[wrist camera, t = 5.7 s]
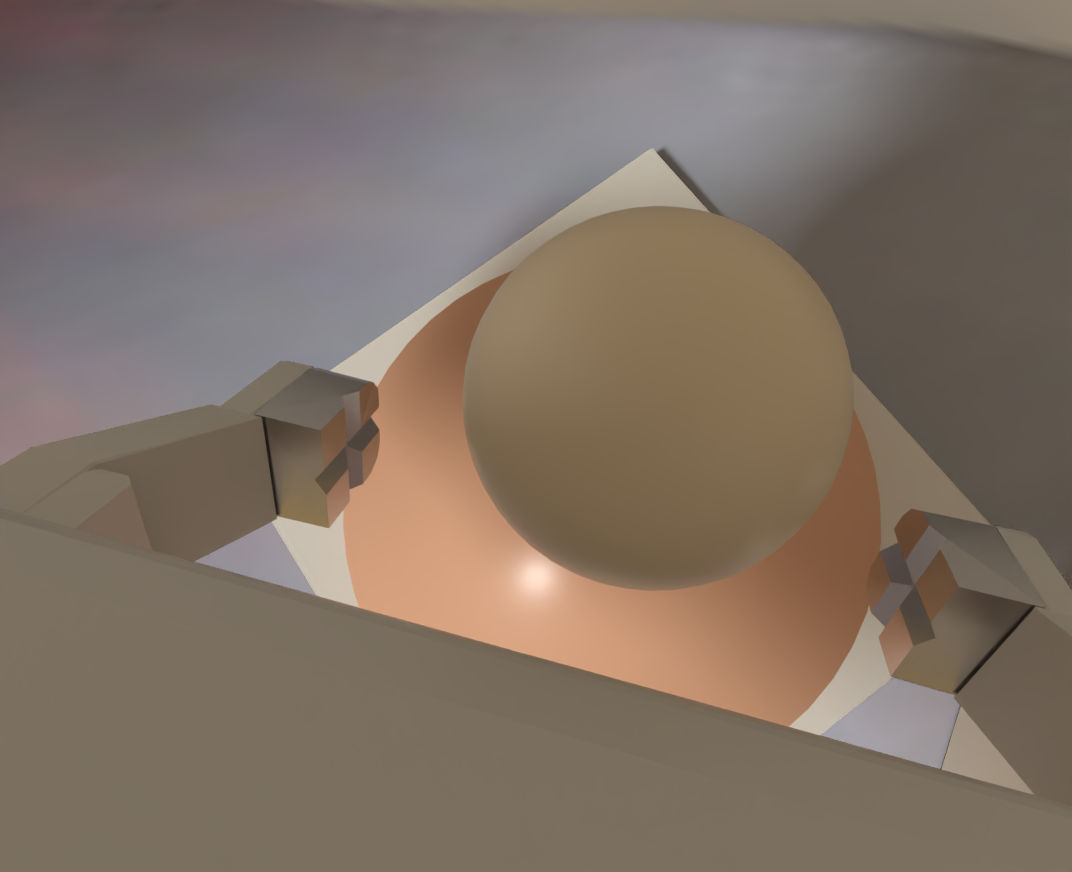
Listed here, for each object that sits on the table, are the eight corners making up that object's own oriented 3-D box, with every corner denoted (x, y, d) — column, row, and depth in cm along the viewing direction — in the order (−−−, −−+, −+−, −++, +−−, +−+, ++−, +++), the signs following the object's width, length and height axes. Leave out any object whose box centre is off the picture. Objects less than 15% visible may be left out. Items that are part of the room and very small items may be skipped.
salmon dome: (272, 451, 17) (-433, 192, 5) (646, 191, 18) (785, -545, 6) (547, 890, 14) (415, 2460, 2) (969, 559, 15) (2351, 550, 3)
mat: (235, 448, 18) (224, 443, 17) (649, 161, 19) (651, 147, 18) (539, 942, 15) (538, 958, 14) (1012, 568, 16) (1029, 568, 15)
